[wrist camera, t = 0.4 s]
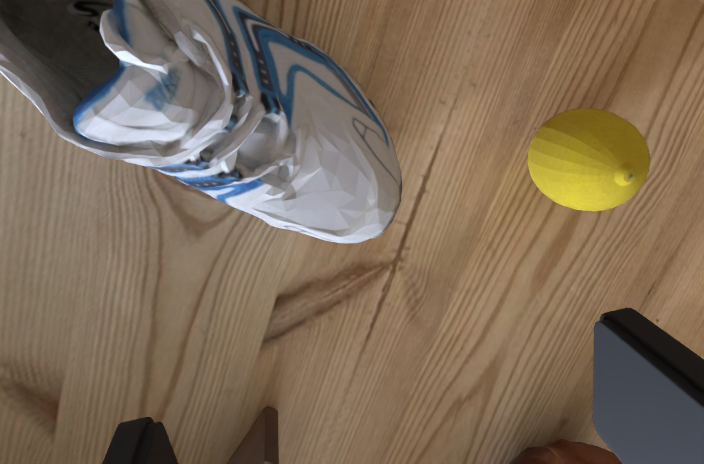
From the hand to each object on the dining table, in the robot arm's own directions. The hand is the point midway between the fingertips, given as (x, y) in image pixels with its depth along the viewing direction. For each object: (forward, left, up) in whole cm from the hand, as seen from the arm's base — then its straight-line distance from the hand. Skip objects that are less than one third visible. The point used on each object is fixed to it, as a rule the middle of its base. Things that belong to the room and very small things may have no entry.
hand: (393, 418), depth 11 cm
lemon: (-9, +12, -21) cm, 26 cm away
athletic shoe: (-1, -7, -21) cm, 23 cm away
